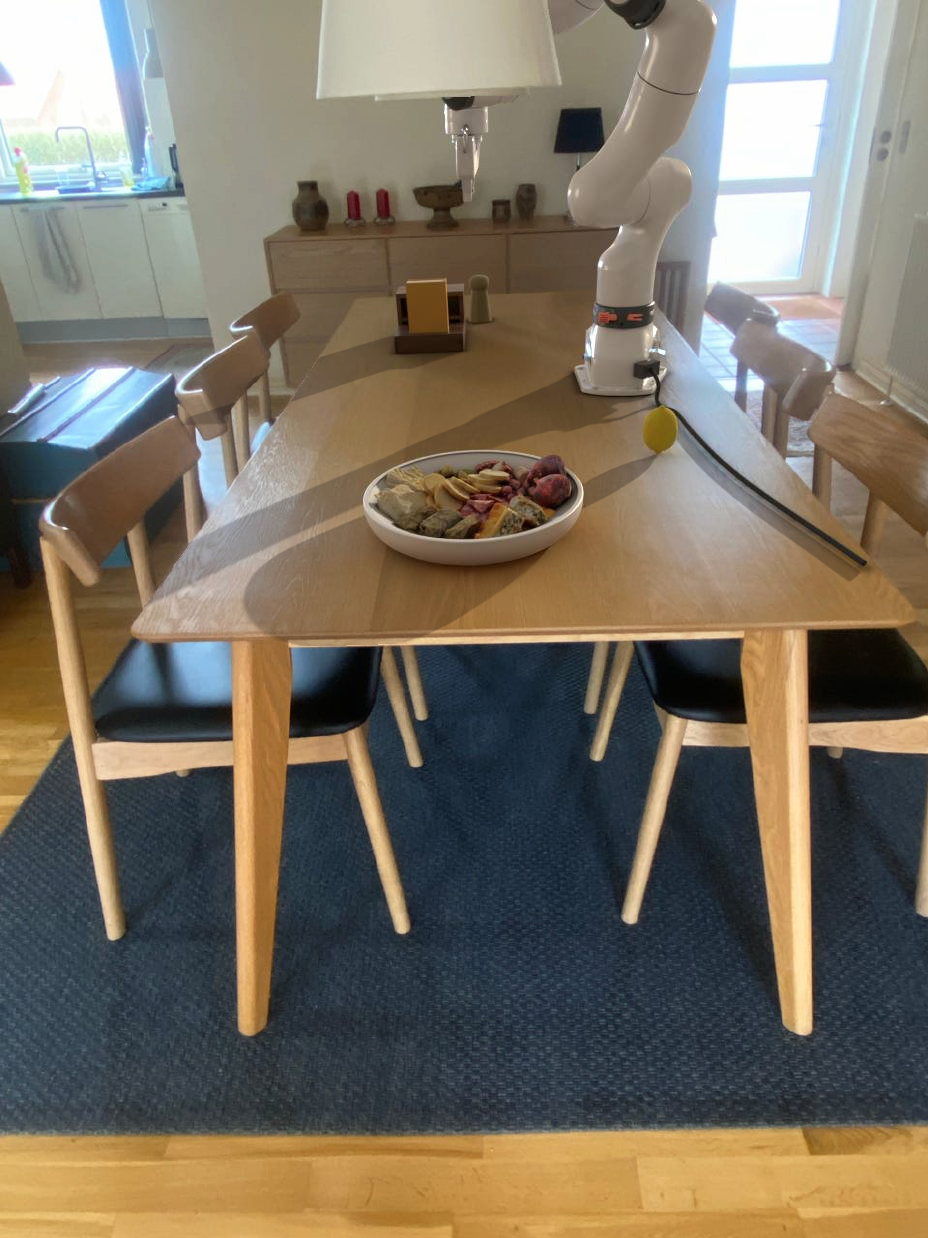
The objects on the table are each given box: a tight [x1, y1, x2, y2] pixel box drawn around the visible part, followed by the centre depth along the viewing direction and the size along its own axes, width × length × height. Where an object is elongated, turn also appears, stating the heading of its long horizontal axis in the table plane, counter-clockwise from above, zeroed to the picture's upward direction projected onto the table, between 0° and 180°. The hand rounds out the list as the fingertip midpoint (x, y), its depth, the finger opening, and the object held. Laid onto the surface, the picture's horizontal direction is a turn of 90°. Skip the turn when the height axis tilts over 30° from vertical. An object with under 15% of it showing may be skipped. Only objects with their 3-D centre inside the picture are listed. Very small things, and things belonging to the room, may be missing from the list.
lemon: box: [642, 404, 679, 455], centre depth 131 cm, size 6×6×8 cm
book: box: [405, 277, 449, 333], centre depth 189 cm, size 4×9×11 cm, turn 88°
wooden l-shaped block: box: [393, 283, 467, 355], centre depth 196 cm, size 20×16×11 cm
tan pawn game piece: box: [468, 274, 493, 324], centre depth 212 cm, size 6×6×11 cm
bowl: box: [362, 449, 584, 566], centre depth 113 cm, size 30×30×8 cm
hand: (468, 198), depth 178 cm, fingers open, 8 cm apart
